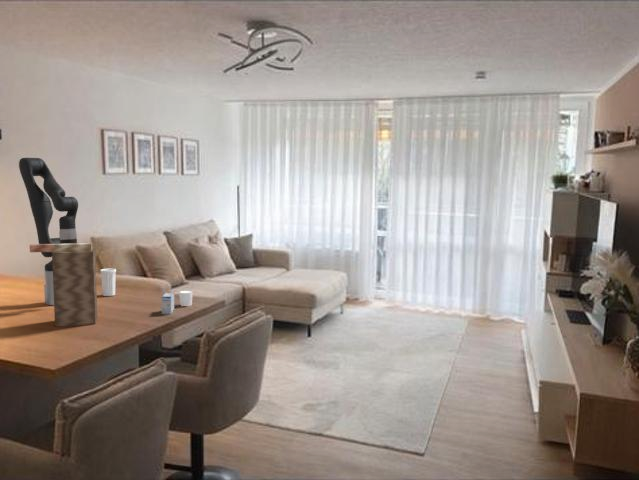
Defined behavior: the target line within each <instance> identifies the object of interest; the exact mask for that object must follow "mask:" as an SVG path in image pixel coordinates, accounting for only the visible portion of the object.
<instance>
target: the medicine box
mask: <svg viewBox="0 0 639 480" xmlns="http://www.w3.org/2000/svg"><path fill="white" fill-rule="evenodd" d="M173 310H174V311H175V293H174V292H173V293H172V292H165V293H164V294H163V295H162V296H161V315H172V314H173V312H174V311H173Z"/></svg>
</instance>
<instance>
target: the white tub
mask: <svg viewBox="0 0 639 480" xmlns="http://www.w3.org/2000/svg"><path fill="white" fill-rule="evenodd" d="M178 295H179V296H178V297H179V304H180V305H181V306H180V305H179V306H180V307H183V306H188V307H191V306H192V305H193V291H192V290H180V291H178ZM190 305H191V306H190Z"/></svg>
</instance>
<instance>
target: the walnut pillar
mask: <svg viewBox="0 0 639 480" xmlns="http://www.w3.org/2000/svg"><path fill="white" fill-rule="evenodd" d="M51 258H52V259H51V260H52V266H53V290H54V305H53V310H54V327H72V326H73V327H74V326H87V325H97V324H96V323H97V320H98V297H97V296H98V293H97V290H98V289H97V267H96V266H97V265H96V264H97V261H96V260H97V259H96V248H92V251H65V252H53V253H52V257H51Z"/></svg>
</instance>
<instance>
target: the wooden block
mask: <svg viewBox="0 0 639 480" xmlns="http://www.w3.org/2000/svg"><path fill="white" fill-rule="evenodd" d="M92 249H93V243H92V242H86V243H85V242H79V243H78V242H77V243H71V244H39V243H33V244H32V243H31V244H29V252H30V253H41V252H65V251H92Z"/></svg>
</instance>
